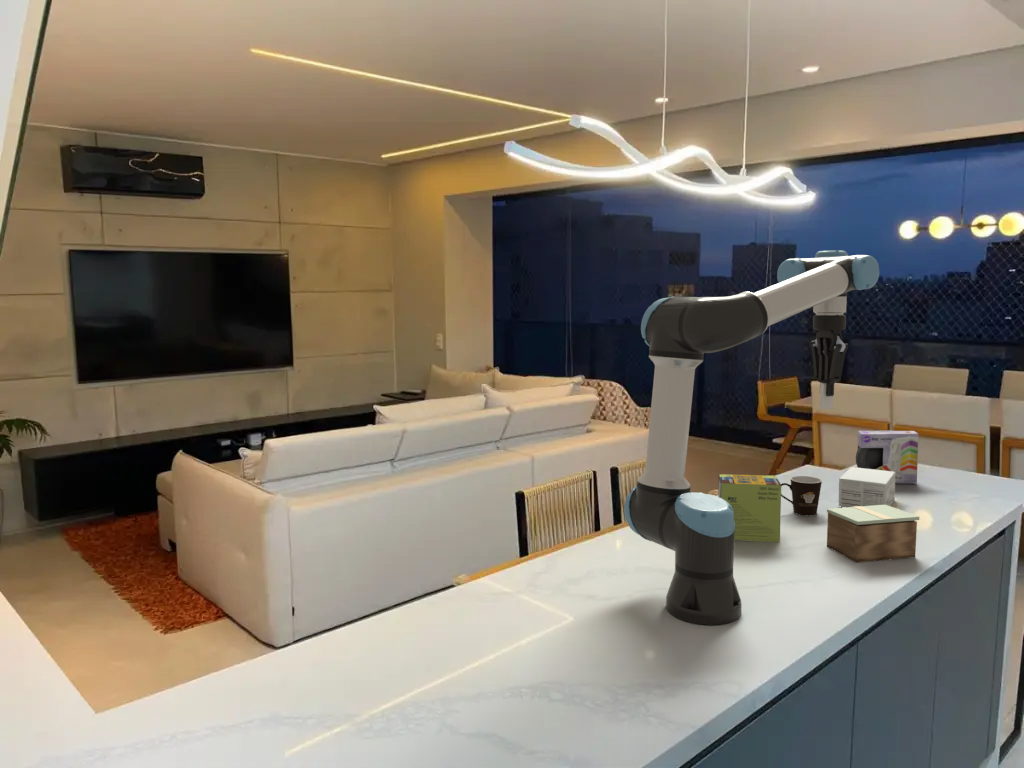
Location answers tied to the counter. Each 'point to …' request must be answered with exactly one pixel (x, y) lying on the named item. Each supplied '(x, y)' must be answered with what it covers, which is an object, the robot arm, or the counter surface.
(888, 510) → the lid
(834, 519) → the crate
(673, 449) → the robot arm
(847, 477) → the supplement box
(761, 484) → the protein box
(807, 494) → the coffee mug
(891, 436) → the cake pan box
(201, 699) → the counter surface
